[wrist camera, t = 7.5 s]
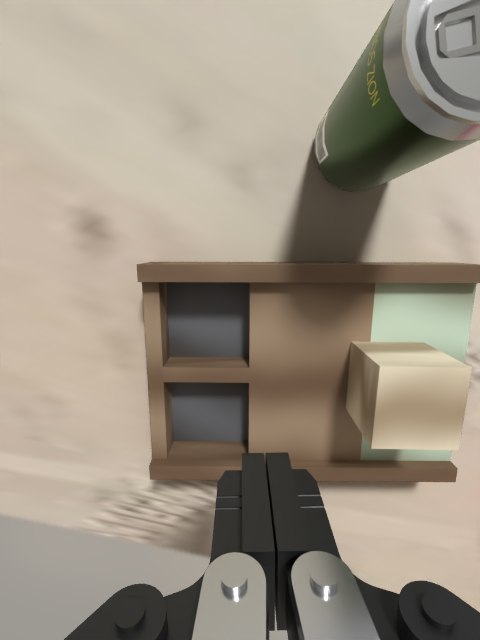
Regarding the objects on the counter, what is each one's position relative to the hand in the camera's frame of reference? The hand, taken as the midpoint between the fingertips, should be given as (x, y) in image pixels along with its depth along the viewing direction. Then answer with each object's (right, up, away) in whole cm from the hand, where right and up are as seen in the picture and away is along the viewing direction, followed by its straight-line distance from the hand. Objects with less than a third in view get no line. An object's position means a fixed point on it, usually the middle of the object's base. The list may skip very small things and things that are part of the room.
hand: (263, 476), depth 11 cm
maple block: (+8, +1, +10) cm, 14 cm away
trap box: (+3, +2, +13) cm, 14 cm away
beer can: (+6, +16, +10) cm, 20 cm away
